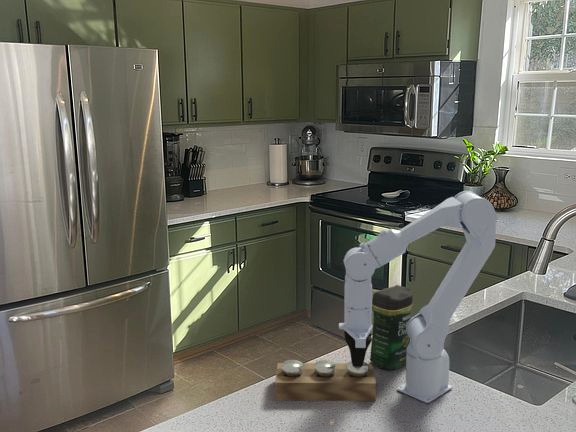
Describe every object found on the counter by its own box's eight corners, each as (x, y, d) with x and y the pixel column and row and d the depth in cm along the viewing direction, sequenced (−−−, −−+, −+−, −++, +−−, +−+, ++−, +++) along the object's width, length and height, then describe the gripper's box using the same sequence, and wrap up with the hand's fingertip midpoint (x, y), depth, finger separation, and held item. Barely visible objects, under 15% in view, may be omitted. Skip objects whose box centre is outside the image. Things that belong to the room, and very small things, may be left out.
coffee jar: (391, 374, 128) (393, 297, 124) (364, 363, 134) (365, 289, 130) (416, 361, 134) (419, 287, 131) (390, 351, 140) (392, 280, 137)
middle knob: (334, 383, 124) (334, 360, 123) (335, 393, 119) (335, 369, 118) (314, 383, 124) (314, 360, 123) (314, 393, 120) (314, 369, 119)
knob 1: (303, 383, 124) (302, 359, 123) (302, 393, 120) (302, 369, 119) (283, 383, 124) (282, 359, 123) (282, 393, 120) (281, 369, 119)
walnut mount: (371, 380, 126) (371, 363, 125) (375, 401, 117) (376, 383, 116) (278, 379, 127) (277, 363, 126) (275, 400, 118) (274, 382, 117)
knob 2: (366, 384, 123) (366, 360, 122) (368, 394, 119) (368, 369, 118) (346, 383, 124) (346, 360, 123) (347, 394, 119) (347, 369, 118)
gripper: (337, 293, 125) (337, 350, 128) (340, 318, 111) (340, 381, 113) (369, 293, 125) (368, 350, 127) (376, 318, 110) (375, 381, 113)
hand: (357, 365), depth 120 cm, fingers closed, pressing on knob 2
